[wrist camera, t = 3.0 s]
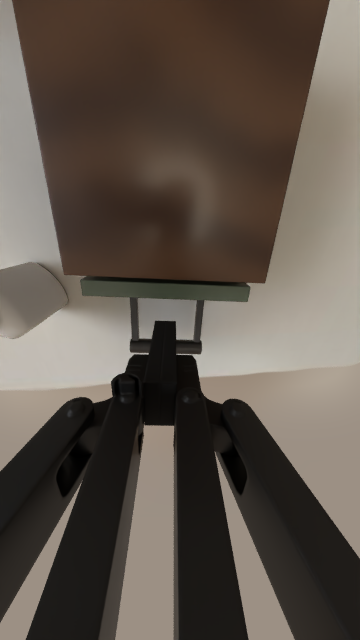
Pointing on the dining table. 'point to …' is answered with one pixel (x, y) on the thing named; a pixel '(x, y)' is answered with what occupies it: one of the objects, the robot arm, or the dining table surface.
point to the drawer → (165, 291)
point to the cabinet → (168, 129)
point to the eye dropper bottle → (27, 298)
